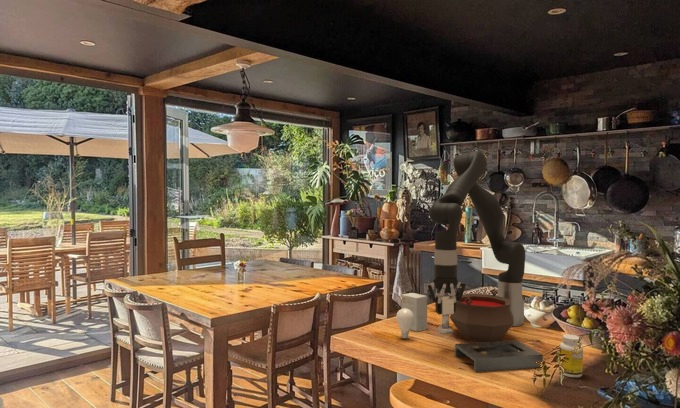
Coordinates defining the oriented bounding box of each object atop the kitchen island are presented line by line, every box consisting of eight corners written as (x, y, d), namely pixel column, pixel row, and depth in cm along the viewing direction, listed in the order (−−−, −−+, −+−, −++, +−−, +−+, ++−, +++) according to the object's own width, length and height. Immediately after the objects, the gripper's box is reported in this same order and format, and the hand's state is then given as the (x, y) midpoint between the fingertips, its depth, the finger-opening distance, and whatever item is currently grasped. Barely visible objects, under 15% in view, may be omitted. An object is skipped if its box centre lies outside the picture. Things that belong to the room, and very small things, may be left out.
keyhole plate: (516, 352, 155) (516, 339, 155) (542, 367, 142) (542, 353, 142) (454, 356, 151) (455, 343, 151) (475, 372, 137) (475, 358, 137)
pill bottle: (554, 370, 140) (555, 333, 139) (574, 369, 140) (575, 333, 140) (566, 378, 133) (567, 340, 133) (587, 377, 134) (587, 339, 134)
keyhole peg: (449, 329, 159) (449, 295, 159) (455, 333, 155) (455, 299, 154) (435, 330, 158) (435, 296, 158) (441, 334, 154) (441, 300, 153)
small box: (427, 329, 181) (427, 295, 181) (416, 332, 177) (416, 298, 176) (411, 324, 187) (412, 292, 187) (400, 327, 183) (401, 294, 183)
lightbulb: (415, 337, 170) (416, 307, 170) (410, 342, 164) (411, 311, 164) (399, 335, 173) (399, 305, 173) (393, 339, 167) (394, 309, 167)
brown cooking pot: (498, 352, 155) (499, 303, 155) (435, 336, 172) (436, 292, 171) (526, 336, 173) (527, 292, 173) (466, 323, 189) (467, 283, 189)
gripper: (460, 260, 161) (460, 309, 161) (421, 261, 158) (421, 311, 159) (470, 263, 154) (470, 315, 154) (430, 265, 151) (429, 317, 151)
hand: (445, 313), depth 156 cm, fingers closed on keyhole peg, 4 cm apart
